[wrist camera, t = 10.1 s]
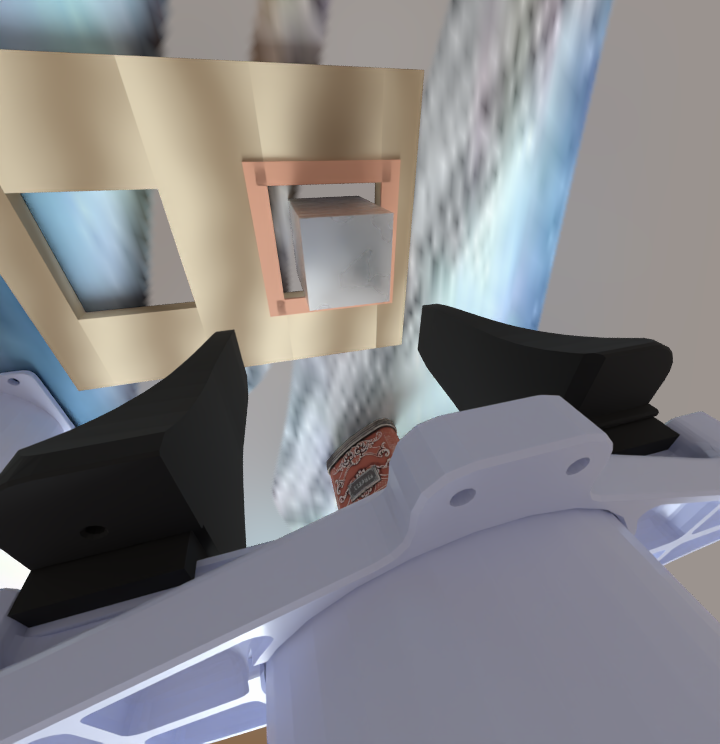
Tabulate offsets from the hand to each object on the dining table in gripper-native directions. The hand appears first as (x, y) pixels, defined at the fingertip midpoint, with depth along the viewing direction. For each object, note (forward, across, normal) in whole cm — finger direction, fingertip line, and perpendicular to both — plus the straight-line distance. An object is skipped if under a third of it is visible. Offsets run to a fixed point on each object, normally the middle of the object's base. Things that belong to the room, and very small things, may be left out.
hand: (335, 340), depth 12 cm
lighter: (+10, -3, +18) cm, 20 cm away
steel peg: (+10, -2, -2) cm, 10 cm away
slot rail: (+10, +4, -2) cm, 10 cm away
